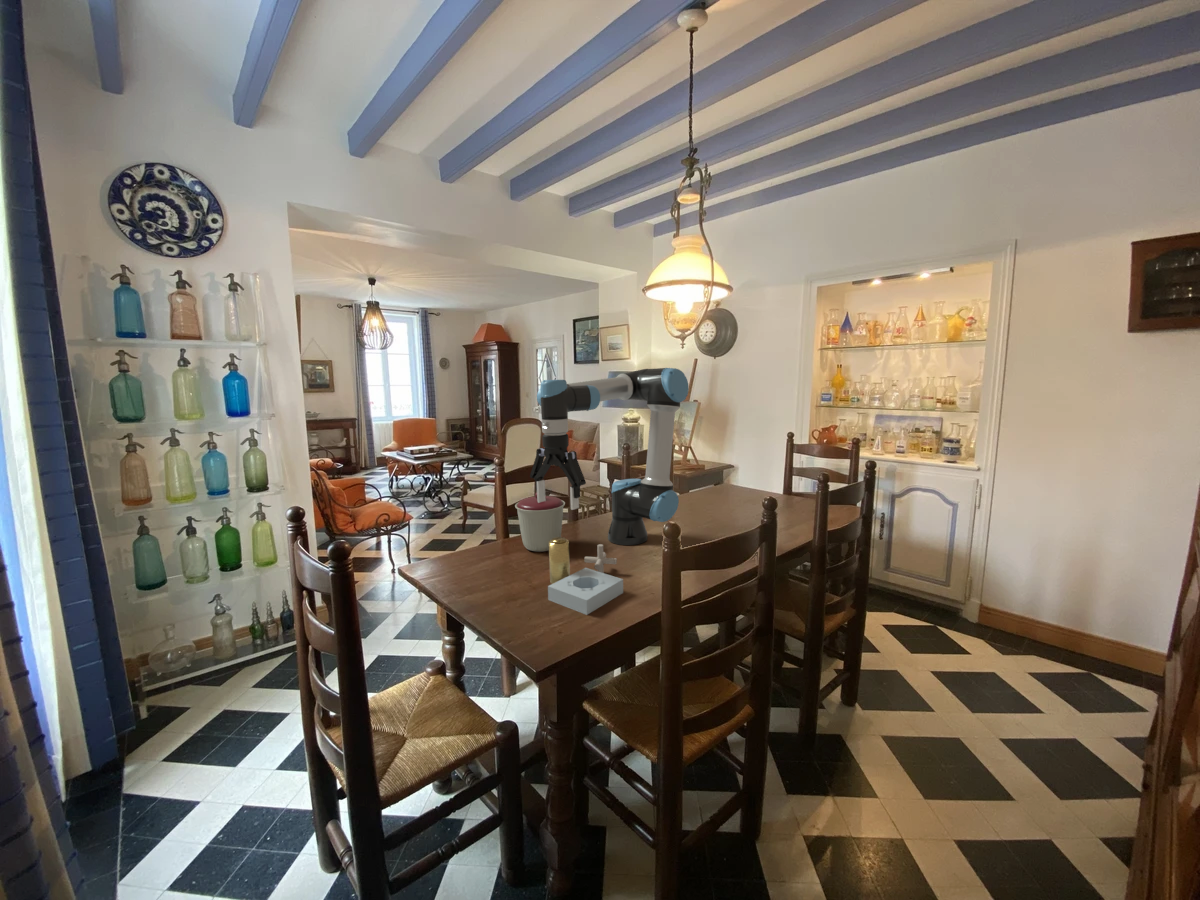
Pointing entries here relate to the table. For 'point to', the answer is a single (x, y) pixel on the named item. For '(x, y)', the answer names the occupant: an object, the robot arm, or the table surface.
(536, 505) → the canister
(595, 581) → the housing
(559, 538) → the gold metal cylinder
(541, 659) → the table surface
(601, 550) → the pipe connector
